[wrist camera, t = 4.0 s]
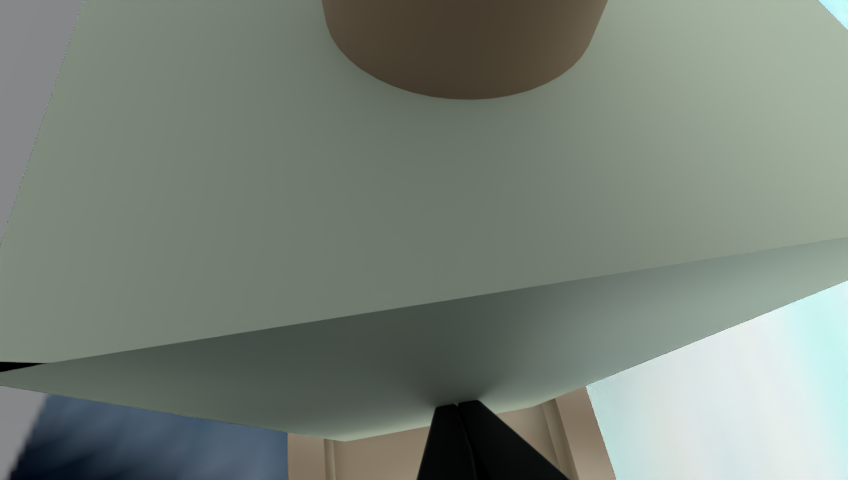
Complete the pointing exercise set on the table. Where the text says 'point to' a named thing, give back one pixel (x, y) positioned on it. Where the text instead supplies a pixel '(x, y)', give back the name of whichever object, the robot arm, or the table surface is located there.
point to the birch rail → (402, 451)
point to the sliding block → (415, 200)
